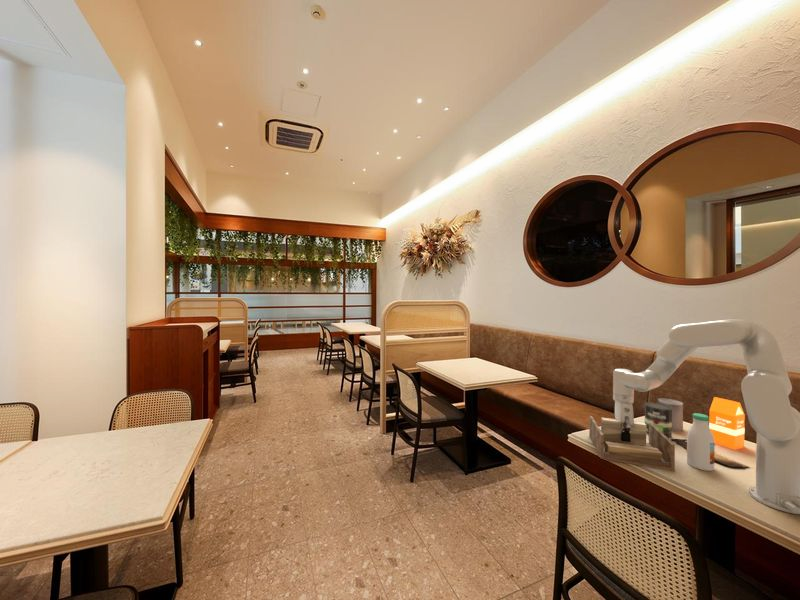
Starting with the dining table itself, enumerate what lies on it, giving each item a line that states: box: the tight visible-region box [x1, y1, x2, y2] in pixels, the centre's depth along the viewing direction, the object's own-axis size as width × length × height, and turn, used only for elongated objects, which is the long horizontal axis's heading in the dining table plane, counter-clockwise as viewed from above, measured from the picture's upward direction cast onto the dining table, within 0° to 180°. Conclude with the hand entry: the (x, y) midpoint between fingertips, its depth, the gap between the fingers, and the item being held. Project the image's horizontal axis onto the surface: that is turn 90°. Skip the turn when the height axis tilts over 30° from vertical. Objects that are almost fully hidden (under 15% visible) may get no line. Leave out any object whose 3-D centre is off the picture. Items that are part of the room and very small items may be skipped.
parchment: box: [670, 438, 749, 470], centre depth 132 cm, size 25×10×1 cm, turn 8°
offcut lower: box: [605, 447, 662, 461], centre depth 127 cm, size 4×18×2 cm, turn 69°
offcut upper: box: [605, 441, 662, 458], centre depth 127 cm, size 4×18×2 cm, turn 72°
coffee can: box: [644, 402, 673, 440], centre depth 150 cm, size 10×10×14 cm
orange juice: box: [708, 396, 746, 450], centre depth 141 cm, size 8×9×20 cm
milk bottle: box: [686, 412, 716, 472], centre depth 122 cm, size 8×8×20 cm
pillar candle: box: [657, 397, 684, 433], centre depth 158 cm, size 10×10×15 cm
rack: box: [588, 415, 676, 472], centre depth 133 cm, size 22×24×10 cm
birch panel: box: [600, 417, 647, 447], centre depth 139 cm, size 3×16×10 cm, turn 69°
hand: (622, 437), depth 139 cm, fingers open, 7 cm apart
